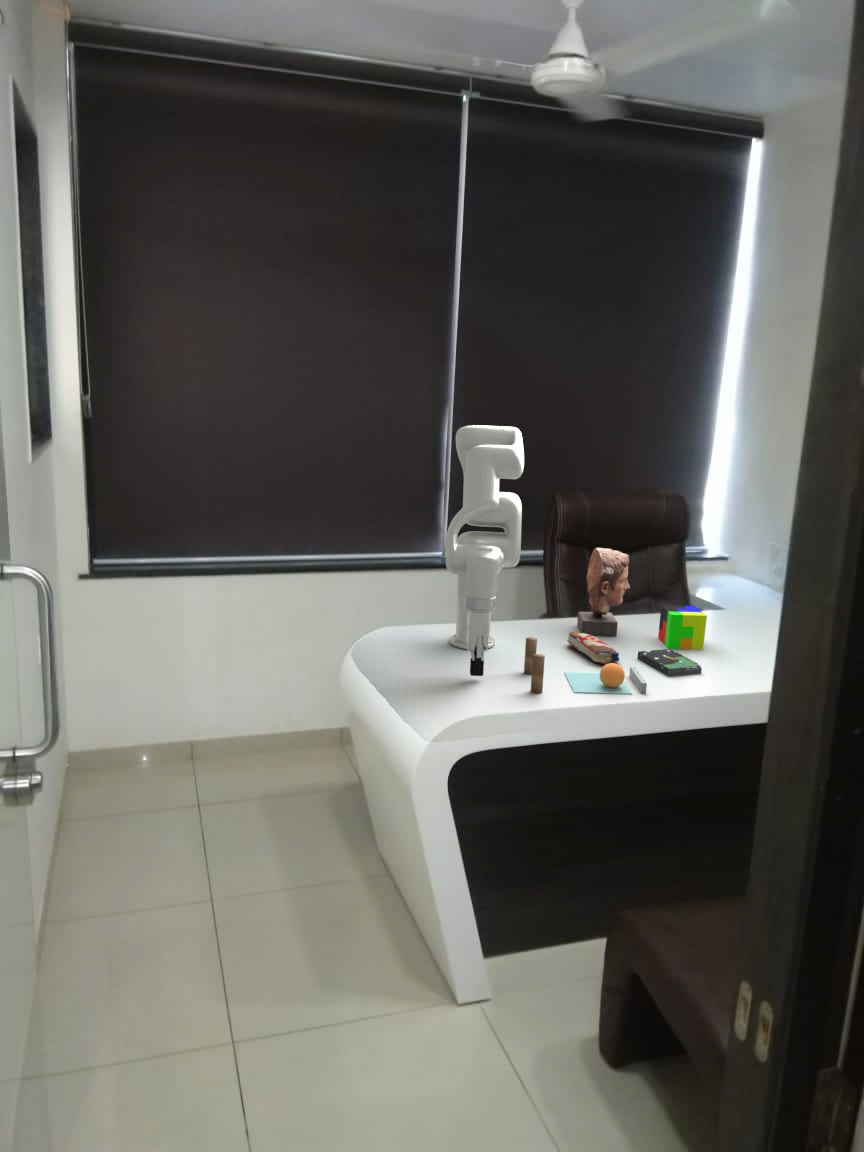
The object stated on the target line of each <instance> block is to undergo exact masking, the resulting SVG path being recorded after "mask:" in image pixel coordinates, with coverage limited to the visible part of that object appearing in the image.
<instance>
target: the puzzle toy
mask: <svg viewBox="0 0 864 1152" xmlns="http://www.w3.org/2000/svg"><path fill="white" fill-rule="evenodd" d="M659 615H660V616H659V625H658V626H659V627H658V637H657V638H658V640H659V641H660V642H661V643H662V644H663V645H664V646H665V647H666V649H671V650H702V651H703V650H704V644H705V636H706V626H707V617H708V615H706V613H704V612H703V611H702V610H701V609H700V608H698V607H697V606H696V605H668V604H667V605H665V604H664V605H663V604H662V605H661V606H660V614H659Z"/></svg>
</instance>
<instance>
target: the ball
mask: <svg viewBox="0 0 864 1152" xmlns="http://www.w3.org/2000/svg"><path fill="white" fill-rule="evenodd" d="M599 673H600V680H601V682H602V683H603V684H604V685H605V686H607V687H610V688H615V687H618V686H620V685H621V684H622V683H623V681H624V680H625V671H624V669H623V667H622V666H621V665H619V664H617V663H615V662H613V663H609V664H604V665H603V666H602V668H601V669H600V671H599ZM624 682H625V681H624Z"/></svg>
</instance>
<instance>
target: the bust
mask: <svg viewBox="0 0 864 1152" xmlns="http://www.w3.org/2000/svg"><path fill="white" fill-rule="evenodd" d="M629 565H630V555H629V554H627V553H623V552H622V551H619V550H614V549H612V548H605V547H604V548H603V547H596V548H594V549H593V550H592V553H591V556H590V558H589V564H588V568H587V574H586V583H587V594H588V595H589V601H588V602H589V604H590V605H591V610H592V611H578V613H577V618H576V619H577V623H576V624H577V628H578V630H579V631H580V633H585V634H588V635H592V636H594V637H613V638H614V637H617V635H618V634H617V633H618V623H619V622H618V620H617V619H616V617H615V616H614V615H613V613H612V612H609V611H610V608H611V607H612V606H620V605H622V604H623V602H624V598H623V597H624V594H625V593H626V591H629V590H630V589H631V587H630V584H629V581H628V576H629Z"/></svg>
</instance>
